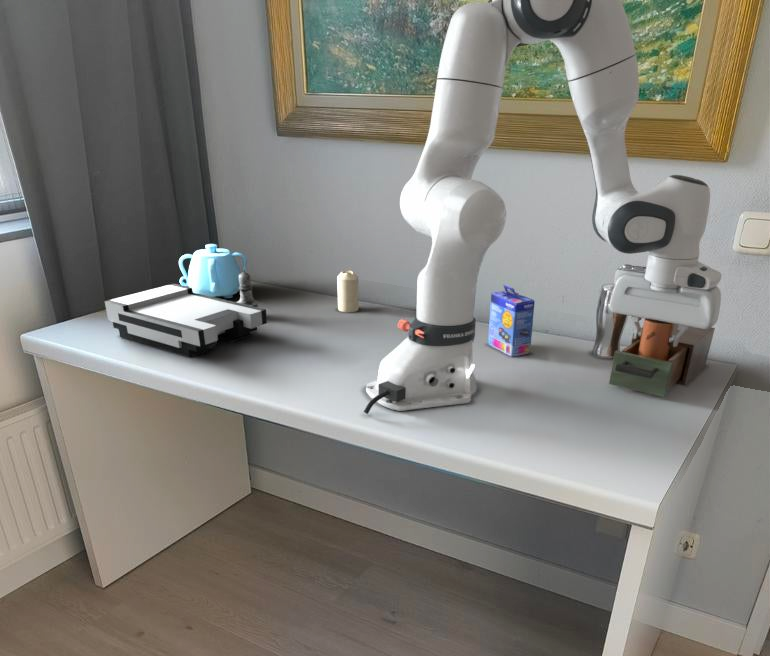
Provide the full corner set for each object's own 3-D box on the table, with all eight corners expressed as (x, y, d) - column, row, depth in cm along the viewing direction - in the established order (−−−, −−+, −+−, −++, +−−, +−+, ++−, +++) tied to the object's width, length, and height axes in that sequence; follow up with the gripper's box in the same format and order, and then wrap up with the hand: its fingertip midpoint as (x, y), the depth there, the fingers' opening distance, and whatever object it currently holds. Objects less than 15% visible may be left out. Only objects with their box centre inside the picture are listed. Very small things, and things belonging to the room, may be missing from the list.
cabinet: (684, 385, 146) (694, 345, 141) (625, 371, 152) (633, 333, 148) (705, 365, 156) (714, 327, 151) (649, 354, 162) (657, 317, 158)
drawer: (656, 403, 135) (664, 370, 132) (600, 390, 141) (606, 357, 138) (685, 377, 147) (693, 345, 144) (633, 365, 153) (639, 335, 149)
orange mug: (639, 369, 148) (650, 313, 142) (666, 375, 145) (679, 318, 139) (623, 381, 142) (634, 324, 136) (651, 388, 139) (663, 329, 133)
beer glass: (622, 360, 158) (635, 292, 150) (590, 358, 159) (601, 290, 151) (620, 350, 164) (632, 284, 156) (589, 348, 165) (599, 282, 157)
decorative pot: (257, 294, 204) (253, 244, 197) (211, 305, 194) (205, 253, 187) (222, 284, 214) (216, 236, 207) (176, 294, 203) (169, 244, 196)
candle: (358, 312, 189) (357, 273, 184) (337, 312, 189) (336, 273, 184) (359, 306, 194) (358, 269, 188) (338, 306, 194) (337, 268, 188)
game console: (202, 362, 156) (197, 325, 152) (111, 335, 172) (104, 301, 167) (268, 338, 170) (265, 304, 166) (178, 315, 186) (174, 283, 182)
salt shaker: (248, 312, 189) (243, 265, 183) (264, 315, 186) (260, 268, 180) (232, 317, 185) (226, 269, 179) (248, 321, 182) (243, 273, 176)
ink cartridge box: (485, 344, 167) (490, 281, 159) (505, 341, 169) (510, 279, 162) (510, 357, 160) (517, 292, 152) (530, 353, 162) (538, 289, 154)
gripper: (610, 265, 137) (599, 336, 144) (721, 282, 127) (702, 357, 134) (623, 260, 141) (611, 328, 149) (730, 275, 131) (712, 348, 138)
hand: (655, 342), depth 141 cm, fingers closed on orange mug, 5 cm apart
